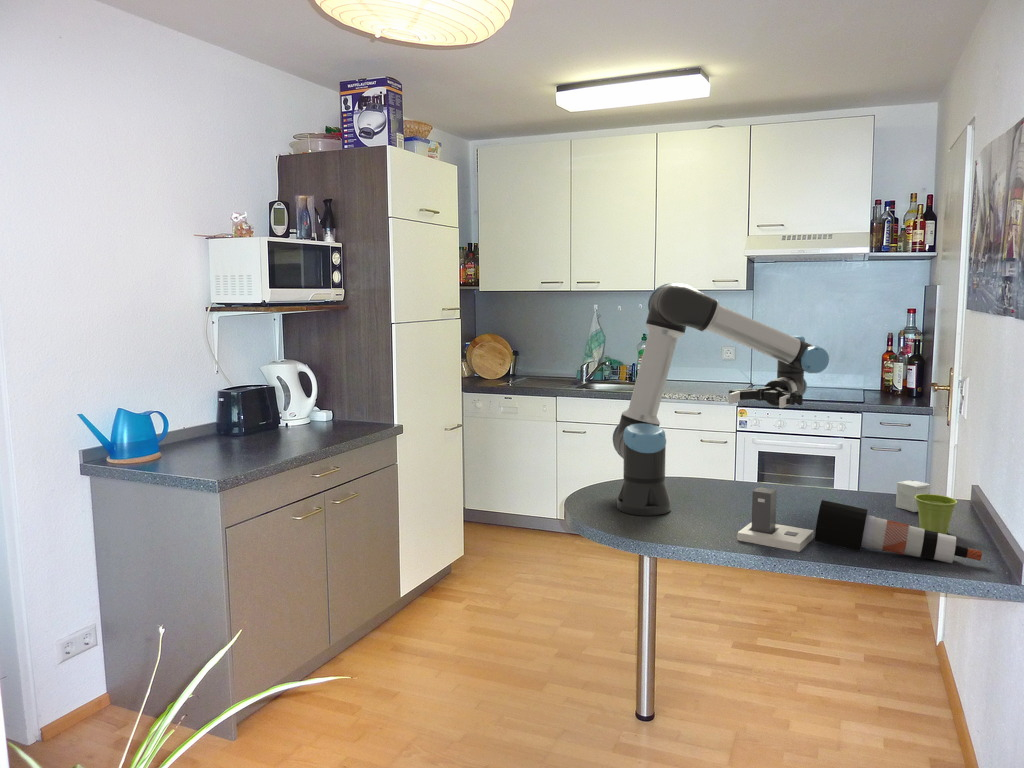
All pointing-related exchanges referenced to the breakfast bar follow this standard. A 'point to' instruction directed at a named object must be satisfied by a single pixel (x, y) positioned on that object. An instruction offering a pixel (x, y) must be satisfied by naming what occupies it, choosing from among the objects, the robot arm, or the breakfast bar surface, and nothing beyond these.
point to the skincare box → (910, 494)
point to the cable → (883, 534)
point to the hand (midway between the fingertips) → (754, 400)
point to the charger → (764, 510)
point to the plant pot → (935, 512)
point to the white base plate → (778, 537)
